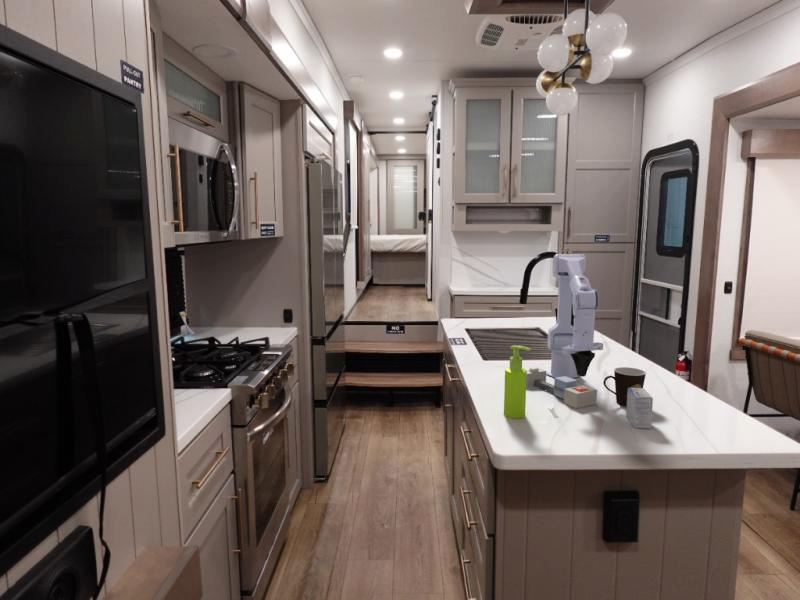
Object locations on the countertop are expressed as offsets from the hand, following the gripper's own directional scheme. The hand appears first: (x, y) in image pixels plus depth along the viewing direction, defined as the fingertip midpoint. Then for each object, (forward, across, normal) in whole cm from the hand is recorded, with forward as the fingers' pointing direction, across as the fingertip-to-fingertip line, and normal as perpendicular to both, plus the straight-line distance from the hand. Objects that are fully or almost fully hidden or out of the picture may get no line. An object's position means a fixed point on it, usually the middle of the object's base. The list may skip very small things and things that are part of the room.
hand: (581, 375), depth 148 cm
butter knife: (+9, -14, -6) cm, 18 cm away
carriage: (+9, 0, +6) cm, 11 cm away
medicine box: (+9, +3, -18) cm, 20 cm away
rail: (+9, 0, +11) cm, 14 cm away
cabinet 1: (+9, 0, +21) cm, 23 cm away
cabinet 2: (+9, 0, 0) cm, 9 cm away
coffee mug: (+9, +12, -5) cm, 16 cm away
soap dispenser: (+9, -23, +1) cm, 25 cm away
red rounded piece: (+7, 0, 0) cm, 7 cm away
